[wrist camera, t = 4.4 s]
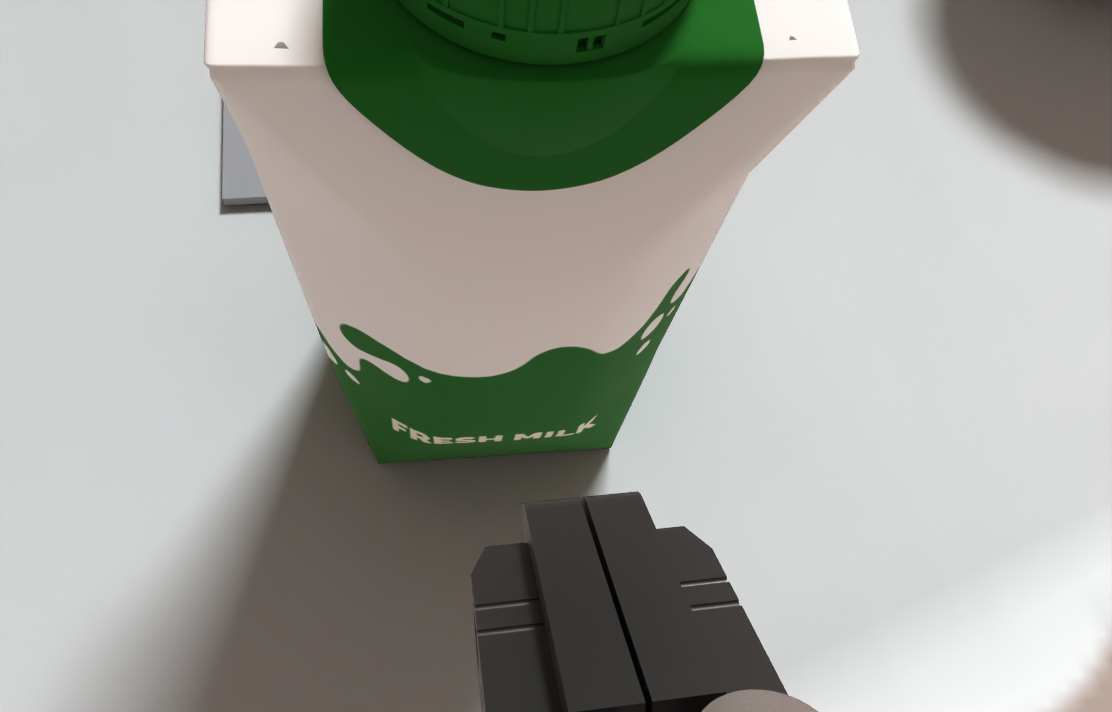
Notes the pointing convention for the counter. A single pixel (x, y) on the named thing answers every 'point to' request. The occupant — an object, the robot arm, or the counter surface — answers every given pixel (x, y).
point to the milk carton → (508, 189)
